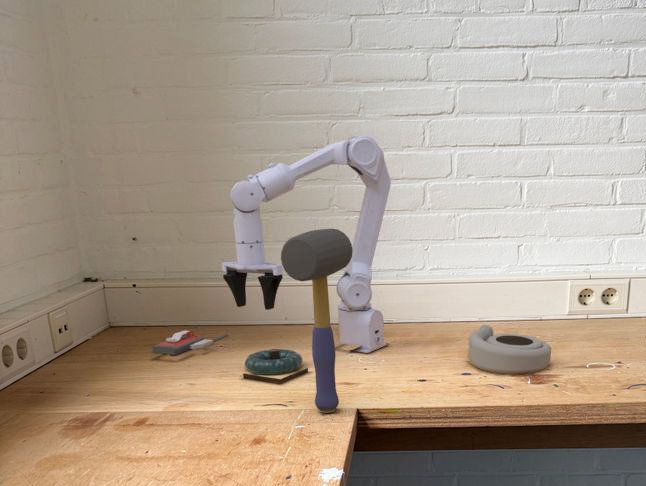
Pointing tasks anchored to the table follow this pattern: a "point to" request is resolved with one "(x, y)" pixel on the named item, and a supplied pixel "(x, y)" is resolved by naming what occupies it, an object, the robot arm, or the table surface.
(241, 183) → the robot arm
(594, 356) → the table surface
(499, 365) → the turbocharger housing
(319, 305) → the rubber mallet
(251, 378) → the post
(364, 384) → the table surface
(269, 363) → the hang ring
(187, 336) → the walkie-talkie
